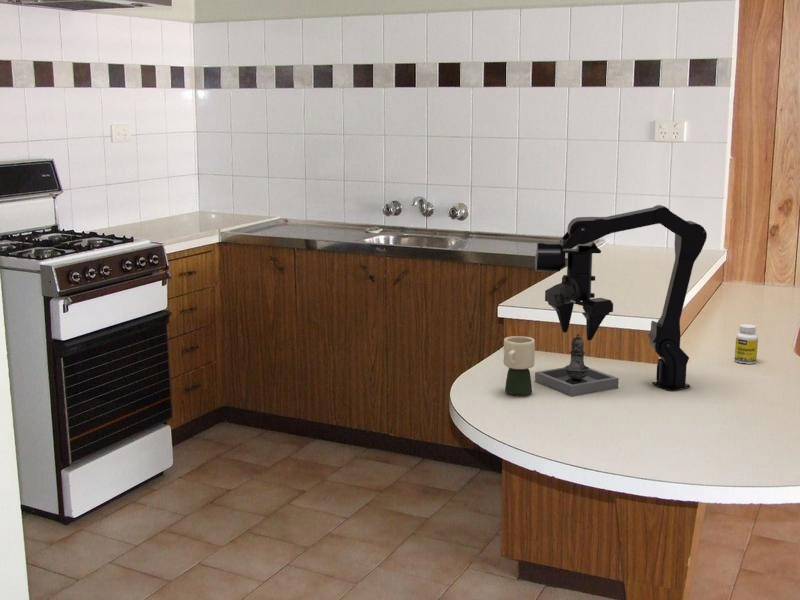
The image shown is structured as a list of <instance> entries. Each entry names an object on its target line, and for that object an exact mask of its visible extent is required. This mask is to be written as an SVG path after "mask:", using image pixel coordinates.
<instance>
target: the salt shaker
mask: <svg viewBox="0 0 800 600" xmlns="http://www.w3.org/2000/svg"><path fill="white" fill-rule="evenodd" d="M584 346H585V341H584V338H582V337H580V334H579V333H576V337H573V338H572V339H571V350H570V351H569V354H570V362H569V364H568V365H566V366H564V367H565V369H566V373H567V375H568V376H569V377H570V379H568V380H566V381H565V382H567V383H569V384H572V385H573V384H579V383H584V382H587V381H586V380H585V379H582V378H585V377H586V376H587V373H588V370H589V368H590V367H589V366H587V365H585V362H584V361H585V360H584V359H585V358H584V357H585V354H586V352H585V350H584V349H585V348H584Z"/></svg>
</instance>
